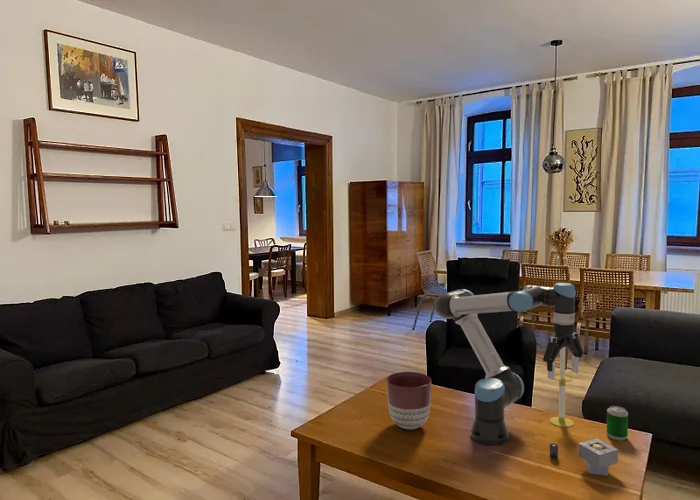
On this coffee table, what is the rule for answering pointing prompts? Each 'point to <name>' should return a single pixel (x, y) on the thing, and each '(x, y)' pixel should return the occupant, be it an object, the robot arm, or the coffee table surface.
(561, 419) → the candle
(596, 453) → the grey hollow block
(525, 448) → the coffee table surface
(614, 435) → the soda can
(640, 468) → the coffee table surface
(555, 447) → the ball
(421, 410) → the planter
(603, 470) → the blue-gray block
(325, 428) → the coffee table surface
